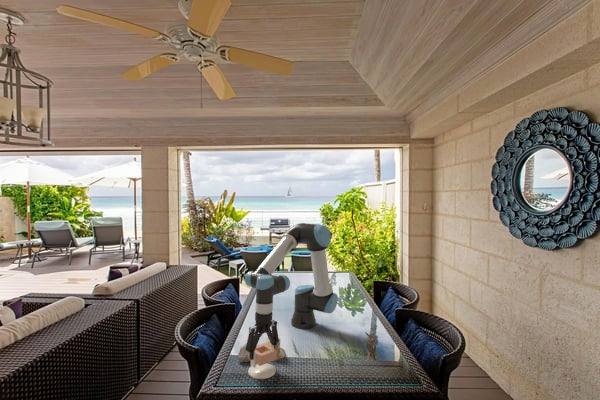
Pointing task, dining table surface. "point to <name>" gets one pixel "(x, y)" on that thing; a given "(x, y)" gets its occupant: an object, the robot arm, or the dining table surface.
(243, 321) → the dining table surface
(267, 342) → the stand
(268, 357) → the link
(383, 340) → the dining table surface
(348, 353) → the dining table surface
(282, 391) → the dining table surface
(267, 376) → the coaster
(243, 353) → the stone
